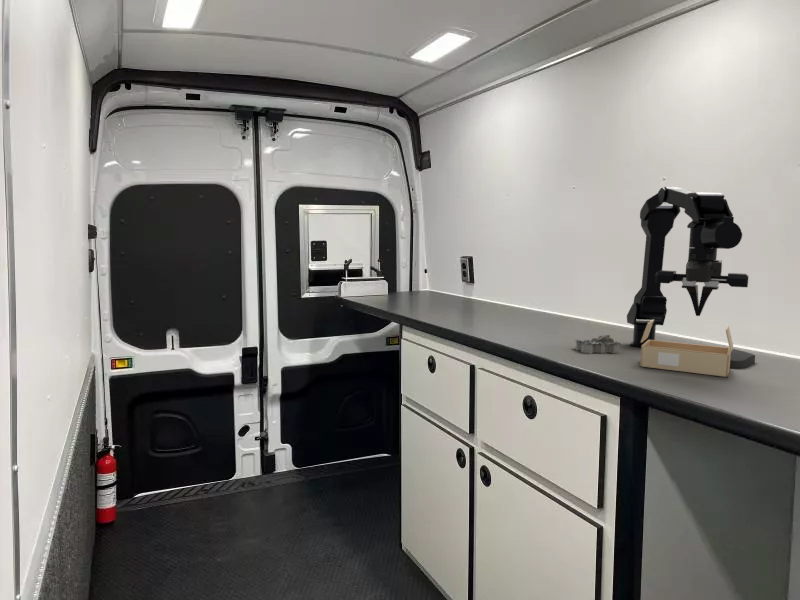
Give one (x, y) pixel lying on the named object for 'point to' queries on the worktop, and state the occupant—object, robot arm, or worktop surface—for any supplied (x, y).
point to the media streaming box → (741, 359)
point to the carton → (686, 357)
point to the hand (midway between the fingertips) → (697, 315)
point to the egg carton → (598, 345)
